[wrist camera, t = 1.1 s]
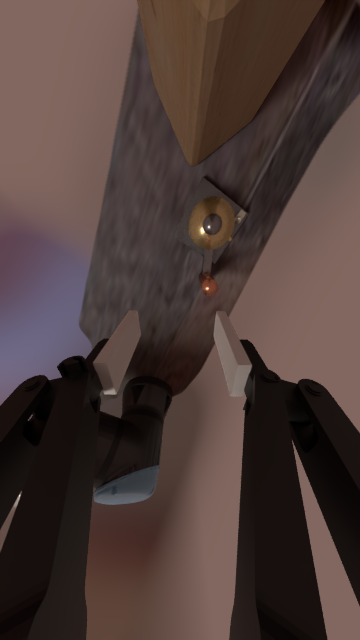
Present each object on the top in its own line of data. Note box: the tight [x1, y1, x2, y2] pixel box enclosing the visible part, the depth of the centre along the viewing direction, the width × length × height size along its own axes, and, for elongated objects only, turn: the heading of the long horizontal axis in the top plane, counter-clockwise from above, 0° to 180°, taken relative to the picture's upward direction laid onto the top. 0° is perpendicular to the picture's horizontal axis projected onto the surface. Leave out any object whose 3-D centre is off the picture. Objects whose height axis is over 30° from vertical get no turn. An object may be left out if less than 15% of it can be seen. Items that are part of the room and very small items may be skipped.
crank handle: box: [189, 196, 235, 296], centre depth 24 cm, size 13×7×7 cm, turn 0°
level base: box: [173, 177, 248, 264], centre depth 26 cm, size 9×9×2 cm
